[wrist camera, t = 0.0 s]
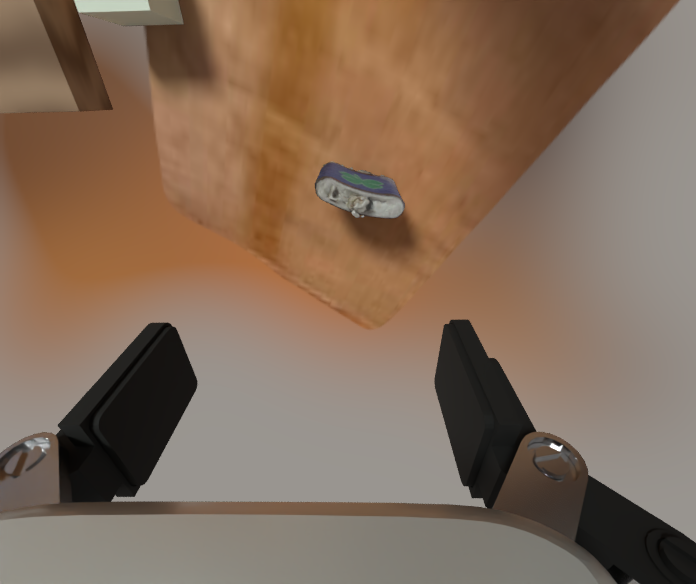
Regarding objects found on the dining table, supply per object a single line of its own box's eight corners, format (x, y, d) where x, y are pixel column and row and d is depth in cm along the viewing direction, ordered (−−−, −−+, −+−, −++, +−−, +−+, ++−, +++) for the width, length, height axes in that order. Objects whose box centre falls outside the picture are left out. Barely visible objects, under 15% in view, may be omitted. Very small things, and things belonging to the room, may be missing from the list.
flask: (398, 178, 38) (411, 205, 29) (390, 202, 39) (400, 234, 30) (323, 157, 37) (313, 178, 28) (318, 182, 38) (307, 209, 29)
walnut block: (-36, -12, 29) (-102, -30, 25) (67, -15, 29) (19, -34, 25) (24, 111, 35) (-22, 113, 30) (112, 109, 34) (79, 111, 30)
